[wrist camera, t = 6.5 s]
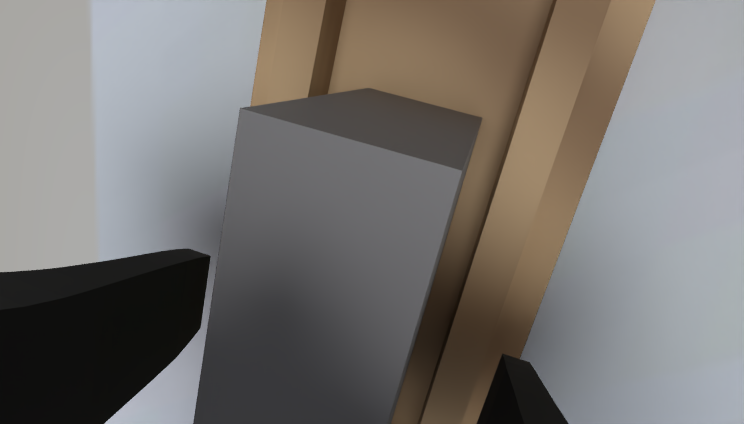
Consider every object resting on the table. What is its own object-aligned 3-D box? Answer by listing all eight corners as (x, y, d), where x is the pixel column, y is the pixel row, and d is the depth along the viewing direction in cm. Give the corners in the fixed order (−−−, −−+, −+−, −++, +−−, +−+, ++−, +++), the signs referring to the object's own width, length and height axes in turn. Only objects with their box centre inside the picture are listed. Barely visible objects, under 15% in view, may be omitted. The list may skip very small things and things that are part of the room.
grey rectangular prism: (482, 117, 13) (461, 170, 6) (387, 434, 16) (308, 687, 10) (357, 85, 13) (219, 102, 7) (289, 397, 17) (150, 613, 10)
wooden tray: (434, 565, 18) (424, 638, 16) (205, 471, 20) (165, 526, 17) (664, -50, 12) (704, -79, 10) (302, -122, 13) (260, -163, 11)
